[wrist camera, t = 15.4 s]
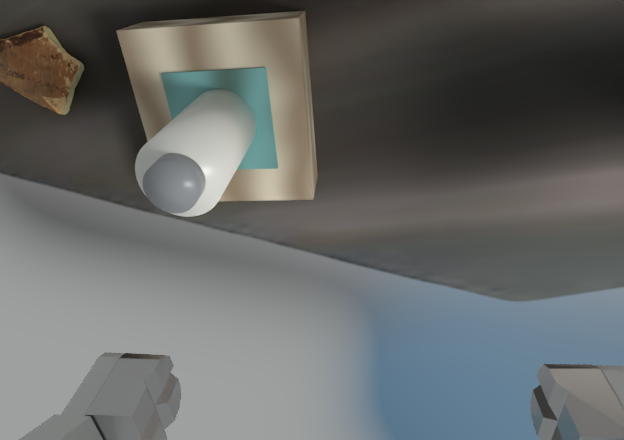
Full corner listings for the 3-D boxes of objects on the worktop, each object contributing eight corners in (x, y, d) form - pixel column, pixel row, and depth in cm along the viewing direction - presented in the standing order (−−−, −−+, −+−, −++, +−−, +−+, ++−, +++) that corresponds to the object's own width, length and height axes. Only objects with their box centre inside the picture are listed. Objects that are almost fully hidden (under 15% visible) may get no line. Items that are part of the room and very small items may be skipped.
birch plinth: (305, 10, 38) (297, 18, 33) (317, 176, 46) (312, 201, 42) (142, 22, 40) (114, 31, 35) (182, 180, 48) (163, 203, 44)
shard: (-34, 52, 43) (-48, 56, 42) (-19, -20, 40) (-35, -19, 38) (70, 114, 46) (60, 120, 44) (93, 51, 42) (83, 55, 41)
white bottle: (251, 87, 37) (206, 143, 26) (261, 153, 40) (224, 228, 29) (183, 90, 37) (111, 146, 27) (197, 155, 40) (138, 229, 30)
